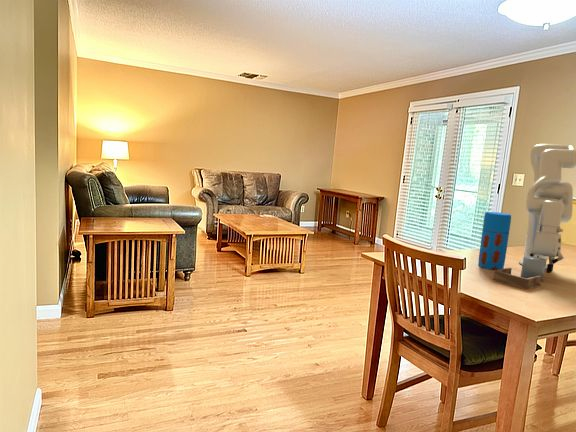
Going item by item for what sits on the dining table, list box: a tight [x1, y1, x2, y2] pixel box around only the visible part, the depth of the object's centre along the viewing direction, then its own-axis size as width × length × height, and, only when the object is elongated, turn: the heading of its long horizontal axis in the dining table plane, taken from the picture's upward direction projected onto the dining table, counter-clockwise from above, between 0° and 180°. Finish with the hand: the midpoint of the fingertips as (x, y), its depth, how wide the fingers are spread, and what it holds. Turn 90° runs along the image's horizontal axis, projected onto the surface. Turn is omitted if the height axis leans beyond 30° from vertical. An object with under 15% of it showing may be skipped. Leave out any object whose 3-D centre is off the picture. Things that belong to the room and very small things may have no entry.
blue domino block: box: [477, 211, 512, 271], centre depth 187 cm, size 11×11×25 cm
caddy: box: [492, 267, 543, 290], centre depth 165 cm, size 12×13×4 cm
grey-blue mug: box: [520, 255, 548, 283], centre depth 173 cm, size 14×8×9 cm, turn 125°
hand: (542, 270), depth 177 cm, fingers open, 4 cm apart
